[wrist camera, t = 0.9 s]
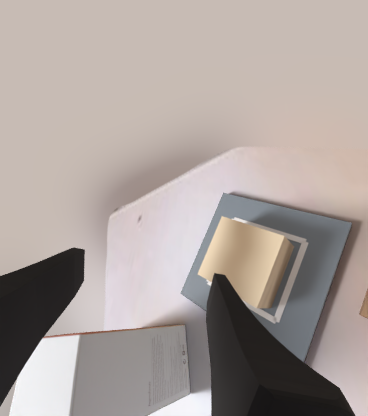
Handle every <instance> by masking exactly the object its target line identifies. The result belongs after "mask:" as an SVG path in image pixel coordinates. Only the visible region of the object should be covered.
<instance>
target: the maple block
mask: <svg viewBox="0 0 368 416" xmlns="http://www.w3.org/2000/svg"><path fill="white" fill-rule="evenodd" d="M293 248H294V246H293V245H292V244H291V243H290V241H289V240H288V239H287V238H286V237H285V236H283V235H280V234H277V233H273V232H270V231H267V230H264V229H261V228H258V227H255V226H251V225H248V224H245V223H242V222H239V221H236V220H233V219H229V218H226V217H223V216H222V217H221V219H220V222H219V224H218V226H217V229H216V231H215V234H214V236H213V238H212V241H211V243H210V245H209V248H208V250H207V253H206V255H205V257H204V260H203V262H202V264H201V267H200V269H199V272H198V275H200V276H201V277H203V278H205V279H207V280H208V281H210V282H212V279H213V275H214V273H217V274H223V275H226V277H227V278H228V280H229V281H230V283H231V284H232V286H233V288H234V289H235V291H236V292H237V294H238V295H239V296H240V298H241V299H242V300H243V301H245V302H247V303H248V304H250V305H252V306H254V307H255V308H271V307H272V304H273V302H274V299H275V296H276V294H277V291H278V288H279V286H280V283H281V280H282V278H283V275H284V272H285V270H286V267H287V264H288V262H289V259H290V256H291V254H292V251H293Z"/></svg>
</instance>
